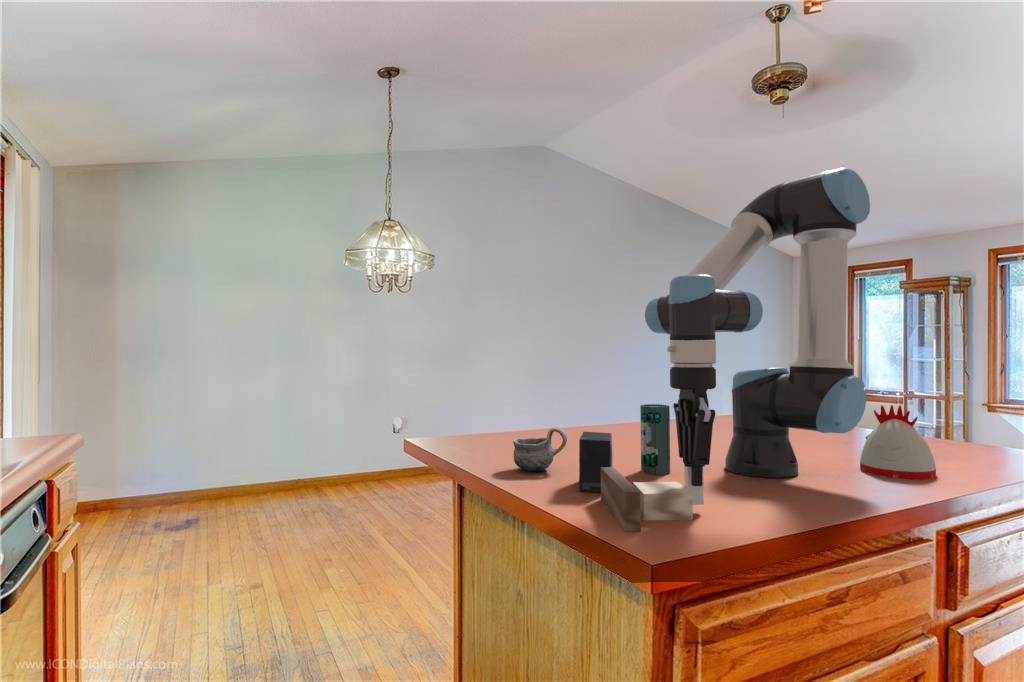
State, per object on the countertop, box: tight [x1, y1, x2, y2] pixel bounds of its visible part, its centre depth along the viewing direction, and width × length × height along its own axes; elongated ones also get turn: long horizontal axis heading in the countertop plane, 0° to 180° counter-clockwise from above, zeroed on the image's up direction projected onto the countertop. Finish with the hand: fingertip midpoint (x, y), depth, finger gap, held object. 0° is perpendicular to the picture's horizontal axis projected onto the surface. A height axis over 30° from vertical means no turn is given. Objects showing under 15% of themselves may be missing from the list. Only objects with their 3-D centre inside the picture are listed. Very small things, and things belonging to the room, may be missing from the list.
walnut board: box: [600, 466, 642, 532], centre depth 95 cm, size 2×18×6 cm, turn 3°
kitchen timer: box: [859, 404, 937, 480], centre depth 124 cm, size 14×14×15 cm
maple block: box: [632, 481, 694, 521], centre depth 95 cm, size 8×8×4 cm
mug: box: [512, 427, 568, 472], centre depth 129 cm, size 10×12×10 cm
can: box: [639, 403, 671, 476], centre depth 127 cm, size 6×6×15 cm
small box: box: [578, 431, 613, 493], centre depth 114 cm, size 11×6×10 cm, turn 168°
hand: (694, 503), depth 95 cm, fingers closed
